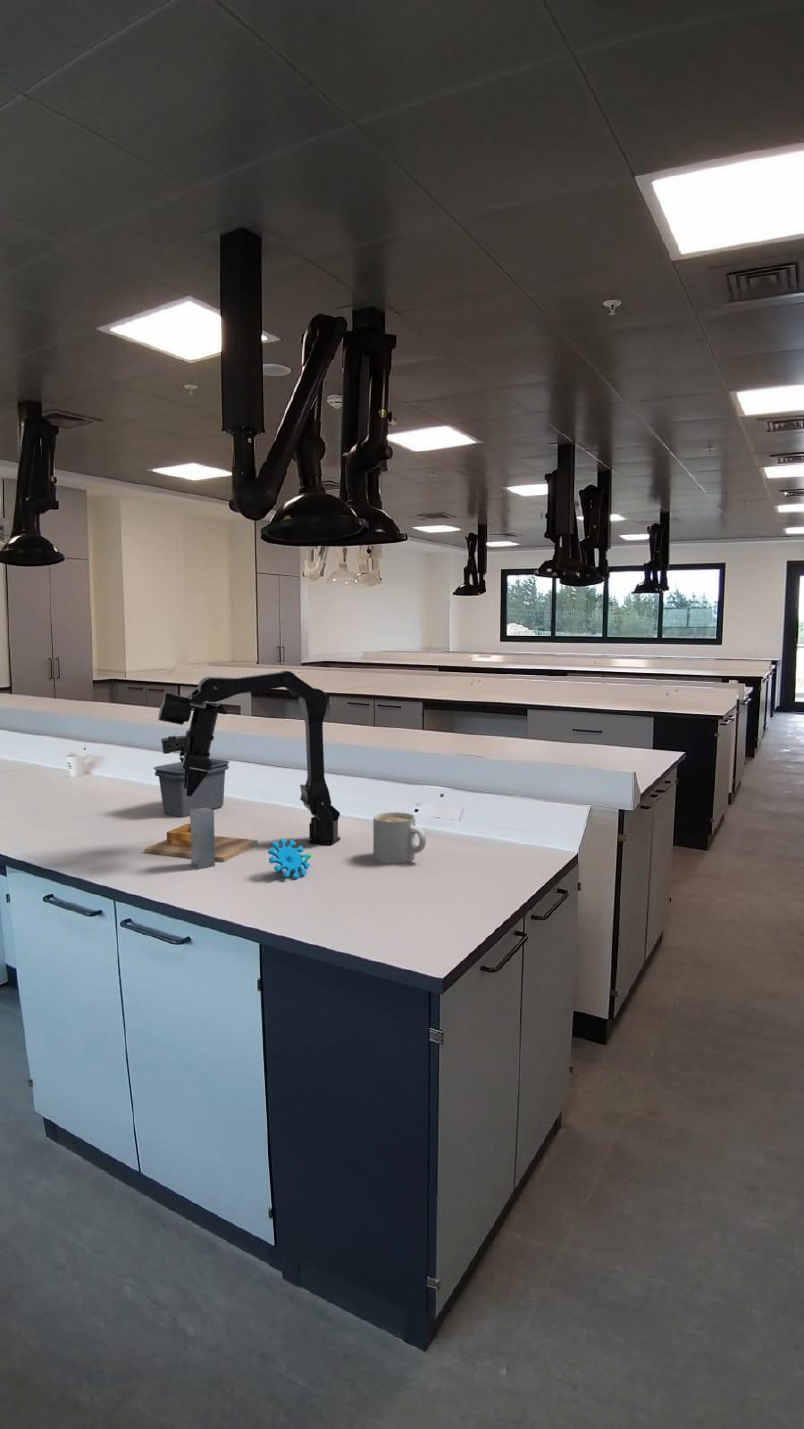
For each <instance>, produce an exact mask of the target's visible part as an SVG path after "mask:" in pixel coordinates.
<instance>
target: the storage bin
mask: <svg viewBox="0 0 804 1429" xmlns="http://www.w3.org/2000/svg"><path fill="white" fill-rule="evenodd" d="M209 759H210V760H211V762H212V767H211V771H209V773H208V774H207V775H206V777H205V778H204V779H203V781H202V782H201V783H200V785H199V786H198V787H197V789H196V790H195V792H194V793H193V794H192V796H187V795H186V790H187V789H185V788H184V768H183V766H182V765H183V763H182V762H181V761H177V762H174V763H173V762H172V763H167V764H164V765H156V766H154V767H153V770H155V772H154V776H155V777H158V779H159V781H158V782H159V787H160V794H161V802H162V809H163V813H164V814H165V815H169V816H173V817H178V818H185V817H189V816H190V810H193V809H200V808H209V809H211V810H215V809H218V808H221V807H223V806H224V799H225V798H224V797H225V795H224V794H225V780H226V779H225V777H226V771H227V770H229V768H230V766H229V763H230V760H227V759H219V758H212V757H211V758H210V757H209Z"/></svg>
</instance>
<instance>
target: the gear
mask: <svg viewBox="0 0 804 1429" xmlns="http://www.w3.org/2000/svg"><path fill="white" fill-rule="evenodd" d="M286 843H287V839H285V838H281V839H280V840H279V842H278V841H277V840H276V841H274V842H272V843H271V847H270V848H269V849H268V851H267V853H268V854H269V855H271V856H270V857H269V859H268V861H269V864H276V865H275V866H274V868H273V869H274V871H275V872H276V873H282V871H283V870H284V872H283V873H282V875H281V876H282V877H284V878H285V879H287V878H289V876H290V875H291V874H290V873H291V872H293V874H292V876H291V878H292V879H294V880H297V879H299V877H300V876H301V877H304V876H305V875H307V870H308V869H309V868H310V866H311V864H310V863H309V862H307V861H308V860H310V859H311V857H313V854H312V852H308V853H305V854H301V853H302V852H304V851H305V849H304V848H303V846H302V845H299V846H298V847H297V848H294V846H296V843H297V842H296V841H294V840H293V839H291V840H290V841H289V842H288V846H285V845H286ZM279 844H280V847H279ZM298 870H299V872H298Z"/></svg>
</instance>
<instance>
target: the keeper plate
mask: <svg viewBox="0 0 804 1429" xmlns="http://www.w3.org/2000/svg"><path fill="white" fill-rule="evenodd" d="M214 843H215V862H219V863H221V862H222V863H224V862H227V861H229V860H230V859H232V858H234V857H236V856H238V855H239V854H242V853H243V852H245V851H247V850H249V849H251V848H253V847H254V846H257V845H258V840H257V839H248V838H238V837H229V836H219V835H214ZM144 853H145V854H153V855H159V856H160V855H161V856H169V857H179V858H187V859H191V831H190V823H186V824H183V825H181V826H178V827H176V828H174V829H171V830H168V831H167V832H166V839H164V840H163V841H159V842H157V843H156V844H155V843H154V844H153V845H150V846H148V847H146V848H144Z"/></svg>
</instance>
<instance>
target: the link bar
mask: <svg viewBox="0 0 804 1429" xmlns="http://www.w3.org/2000/svg"><path fill="white" fill-rule="evenodd" d="M189 816H190V817H189V821H190V822H189V824H190V831H191V858H190V865H191V866H193V867H194V868H195V869H197V870H203V869H206V868H213V867H215V866H216V861H215V843H214V836H215V810H214V809H212V810H211V809H209V808H200V809H193V810H190V815H189Z"/></svg>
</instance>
